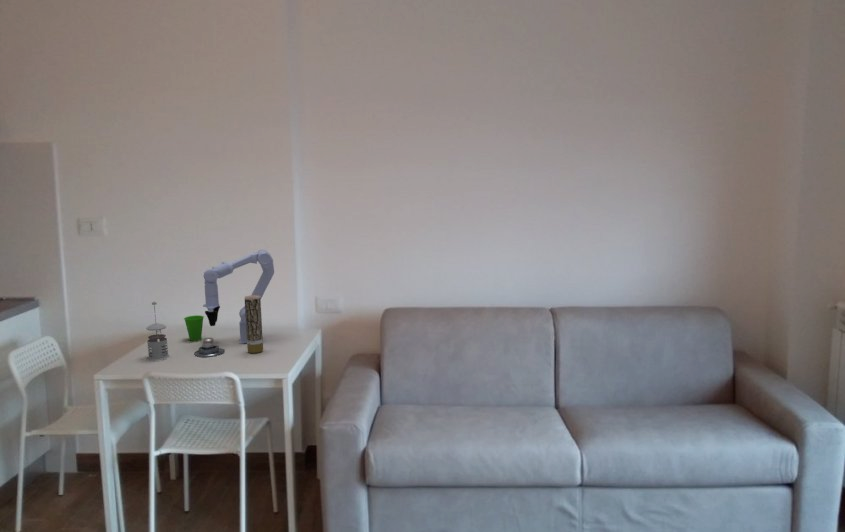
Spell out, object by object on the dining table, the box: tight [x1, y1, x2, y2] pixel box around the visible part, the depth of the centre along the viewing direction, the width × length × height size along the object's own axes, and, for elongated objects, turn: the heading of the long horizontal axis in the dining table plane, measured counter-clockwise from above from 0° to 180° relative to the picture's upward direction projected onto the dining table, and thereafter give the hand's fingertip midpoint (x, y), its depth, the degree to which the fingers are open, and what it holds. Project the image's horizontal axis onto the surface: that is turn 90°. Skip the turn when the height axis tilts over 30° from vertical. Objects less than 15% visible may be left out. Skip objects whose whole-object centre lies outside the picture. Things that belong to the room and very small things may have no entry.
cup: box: [183, 314, 205, 342], centre depth 305 cm, size 9×9×11 cm
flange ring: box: [193, 344, 226, 358], centre depth 284 cm, size 13×13×2 cm
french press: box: [145, 301, 171, 362], centre depth 276 cm, size 10×12×25 cm
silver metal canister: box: [201, 337, 215, 350], centre depth 283 cm, size 5×5×6 cm
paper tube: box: [244, 294, 264, 354], centre depth 283 cm, size 7×7×25 cm
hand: (213, 323), depth 296 cm, fingers open, 7 cm apart
